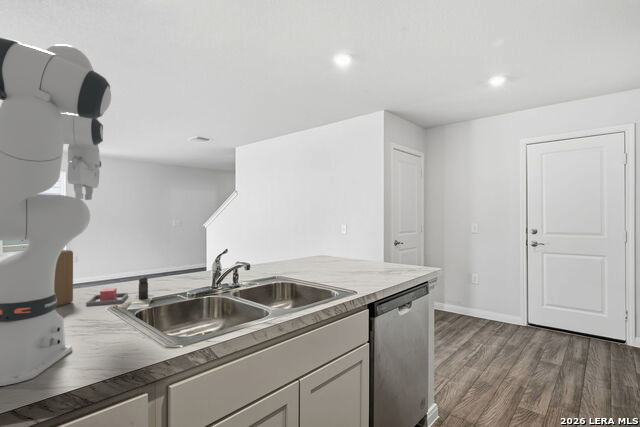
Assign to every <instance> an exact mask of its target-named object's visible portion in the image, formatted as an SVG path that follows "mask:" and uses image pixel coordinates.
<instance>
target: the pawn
mask: <svg viewBox="0 0 640 427" xmlns="http://www.w3.org/2000/svg"><path fill="white" fill-rule="evenodd" d="M148 281H149V280H148V278H147V277H146V276H141V277H140V278H139V279H138V295H139V299H140V300H143V299H148V295H149V282H148Z"/></svg>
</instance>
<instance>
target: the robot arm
mask: <svg viewBox="0 0 640 427" xmlns="http://www.w3.org/2000/svg"><path fill="white" fill-rule="evenodd" d="M111 92H112V91H111V85H110V83H109V82H108V80H107V78H105V77H104V76H102V75H101V74H99V73H98V72H96V71H95V70H94V68H93V66H92V63H91V61H90V60H89V58H88V57H87V56H86V54H85V53H83V52H82V51H81V50H79V49H78V48H76V47H73V46H71V45H68V44H55V45H51V46H49V47H48V48H46V50H43V49H41V48H38V47H35V46H30V45H27V44H22V43H21V41H18V40H14V39H10V38H6V37H0V100H1V101H2V102H1V104H0V241H17V240H18V241H20V240H21V241H22V240H26V241H28V245H27V246H26V248H24V250H22V251H20V252H17V253H15V254H12V255H10V256H8V257H6V258H4V259H2V260H1V261H0V387H2V386H9V385H12V384H17V383H22V382H25V381H27V380H31V379H34V378H36V377H37V376H38V375H40V374H41V373H43V372H44V371H45V370H47V369H48V368H49V367H51V366H52V365H54V364H55V363H57V362H58V361H60V359H63V357H65V356H66V355H68V354H70V353H71V352H72V351H73V346H72V345H70V344H66V333H65V321H64V317H63V316H62V315H60V314H59V313H58V312H57V311H56V308H57V298H56V294H55V293H54V279H55V269H56V263H57V260H58V257H59V255H60V253H61V252H62V250H65V248H66V246H67V245H68V244H69V243H70V242H71V241H73V240H74V239H75V238H76V237H77V236H79V235H81V234H82V233H84V231H85V230H86V229H88V228H87V227H88V226H89V223H90V222H91V212H90V209H89V206H87V204H86V202H85V201H84V200H86V201H92V198H93V193H94V189H96V188H97V189H98V187H99V183H100V168H102V162H101V159H100V148H99V144H102V143H103V141H104V140H103V138H104V137H103V134H104V133H103V130H104V125H103V124H102V123H101V121H99V118H100V117H102V116H103V114H105V112H106V111H107V110H108V109H109V107H110V105H111V101H112V93H111ZM64 145H68V147H67V163H68V164H67V174H66V175H67V176H66V177H67V183H68V184H70V185H73V189H74V197H73V196H70V195H69V196H67V195H63V194H50V193H49V194H48V193H47V194H46V193H45V194H44V192H46V191H48V190H50V189H51V188H52V187H54V186H55V185H56V183H58V181H59V180H60V176H61V171H62V170H61V168H62V160H63V153H64ZM83 188H84V191H85V194H84V193H83ZM82 199H84V200H82Z"/></svg>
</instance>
